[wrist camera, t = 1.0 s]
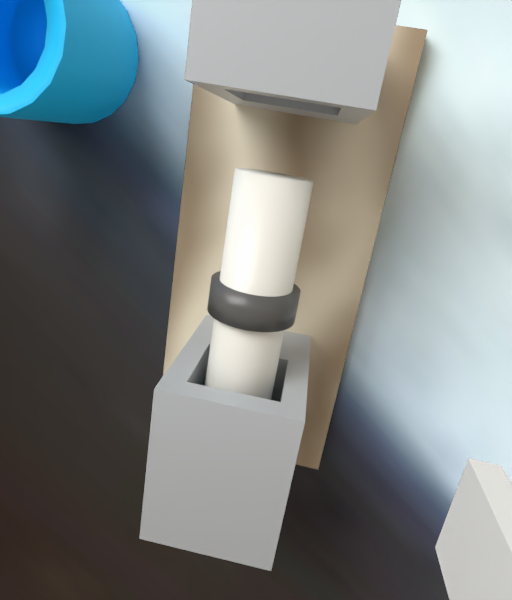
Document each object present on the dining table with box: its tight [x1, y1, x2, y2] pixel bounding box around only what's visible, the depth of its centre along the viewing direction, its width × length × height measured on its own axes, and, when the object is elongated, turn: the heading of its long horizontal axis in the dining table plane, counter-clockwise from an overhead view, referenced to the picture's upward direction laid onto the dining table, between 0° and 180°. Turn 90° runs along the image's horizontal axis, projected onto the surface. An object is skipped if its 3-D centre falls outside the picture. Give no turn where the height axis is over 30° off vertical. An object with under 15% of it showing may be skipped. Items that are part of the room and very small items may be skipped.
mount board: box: [163, 25, 427, 469], centre depth 29 cm, size 12×28×1 cm, turn 171°
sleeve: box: [139, 315, 311, 571], centre depth 27 cm, size 9×7×10 cm
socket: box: [185, 0, 401, 124], centre depth 21 cm, size 4×7×10 cm, turn 81°
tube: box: [205, 168, 314, 400], centre depth 24 cm, size 18×4×4 cm, turn 171°
